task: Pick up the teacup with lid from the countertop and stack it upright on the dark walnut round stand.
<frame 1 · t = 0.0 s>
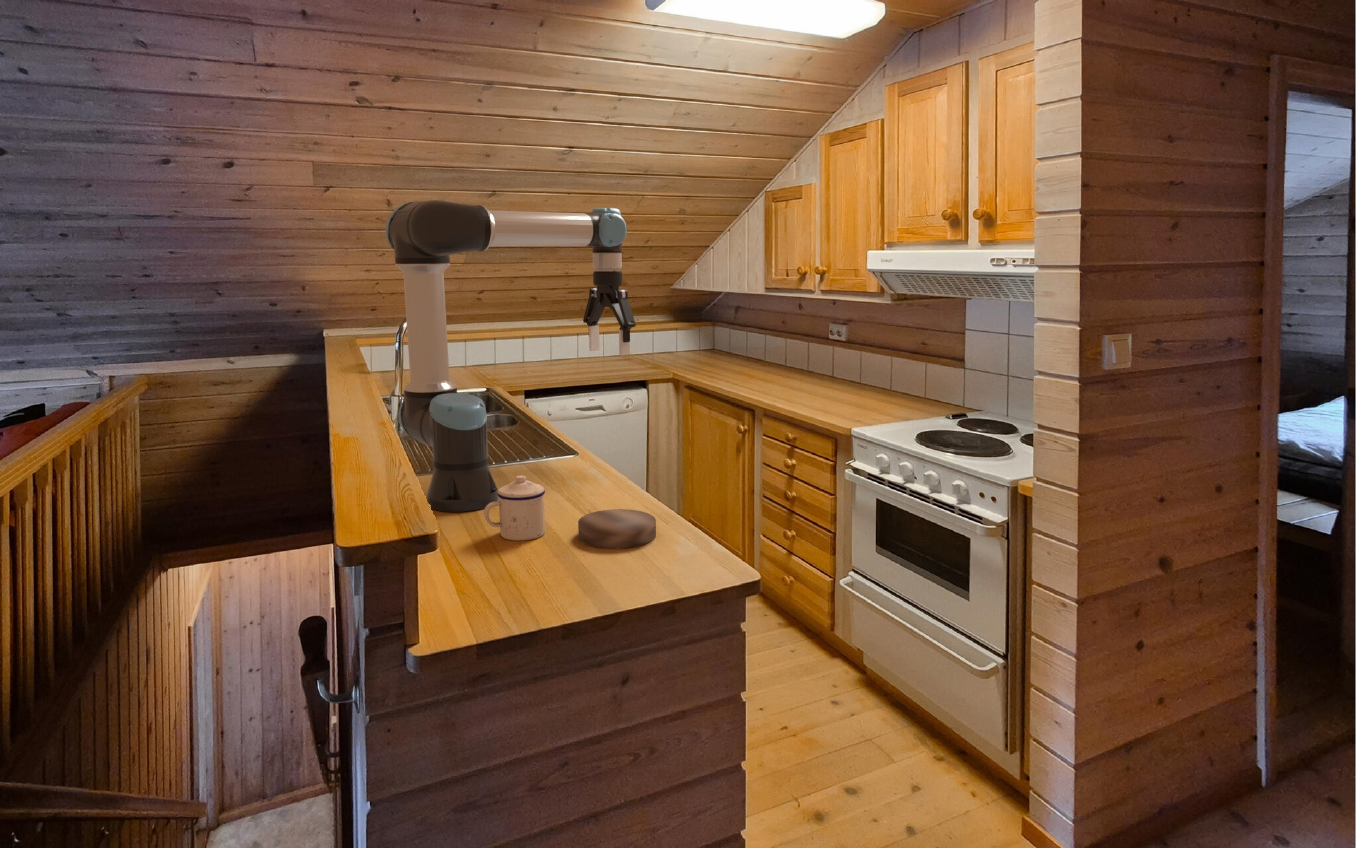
hand: (609, 352, 222), 28 cm above the worktop, fingers open, 13 cm apart
teacup with lid: (515, 536, 166), on the worktop
walnut stand: (617, 535, 165), on the worktop
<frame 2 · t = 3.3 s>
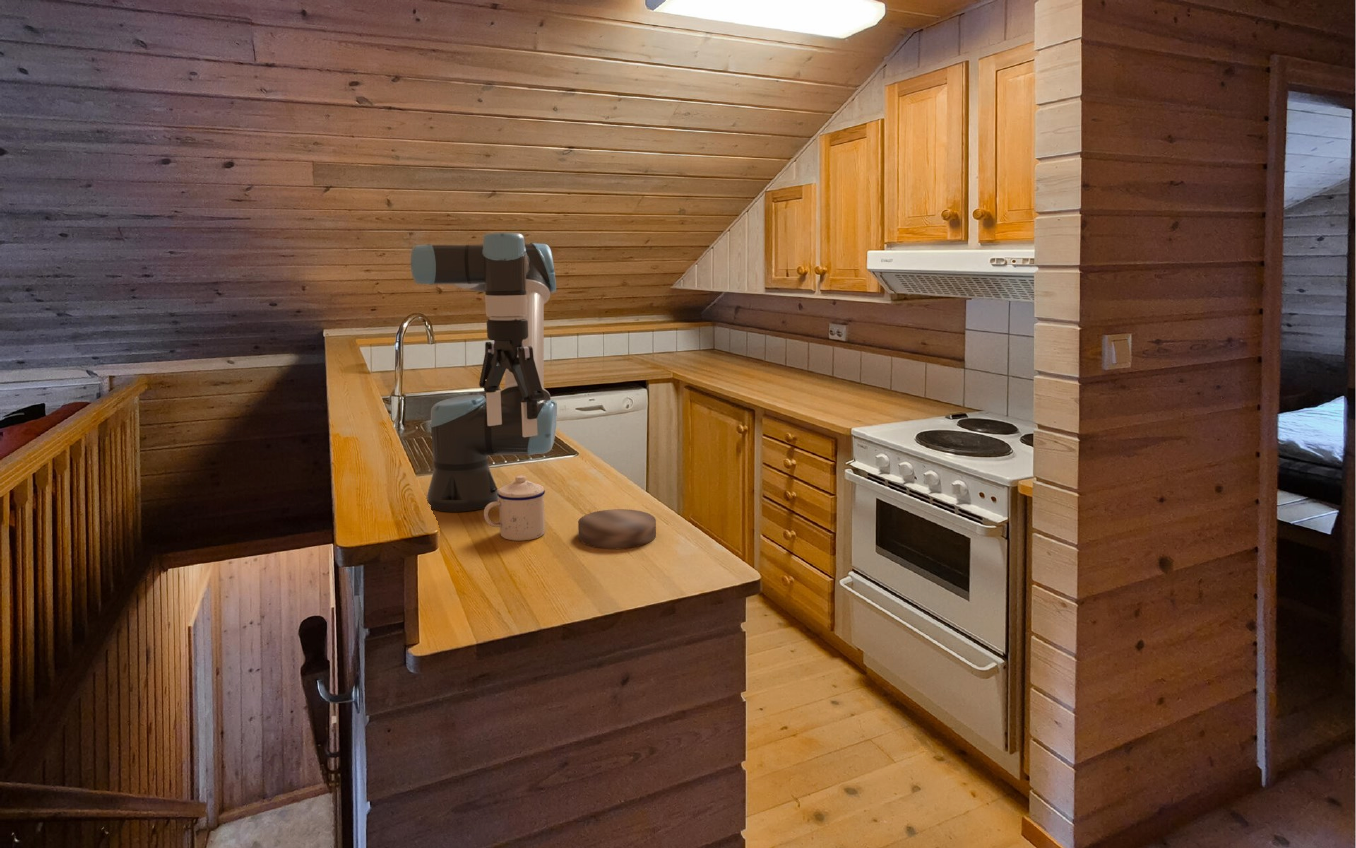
hand: (511, 430, 161), 21 cm above the worktop, fingers open, 13 cm apart
nothing on the worktop moved.
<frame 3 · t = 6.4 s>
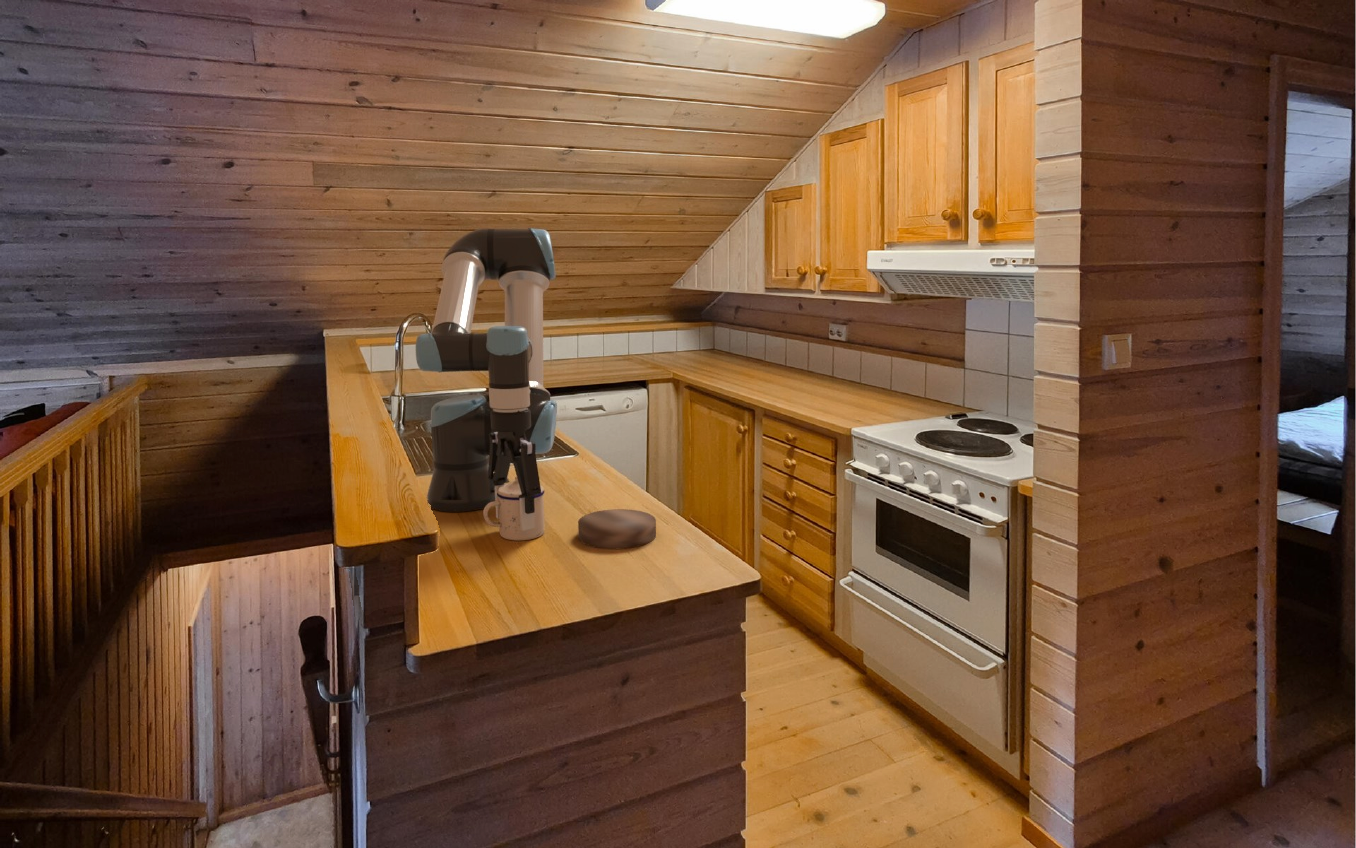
hand: (515, 522, 165), 3 cm above the worktop, fingers closed on teacup with lid, 9 cm apart
teacup with lid: (515, 536, 166), on the worktop, touching gripper
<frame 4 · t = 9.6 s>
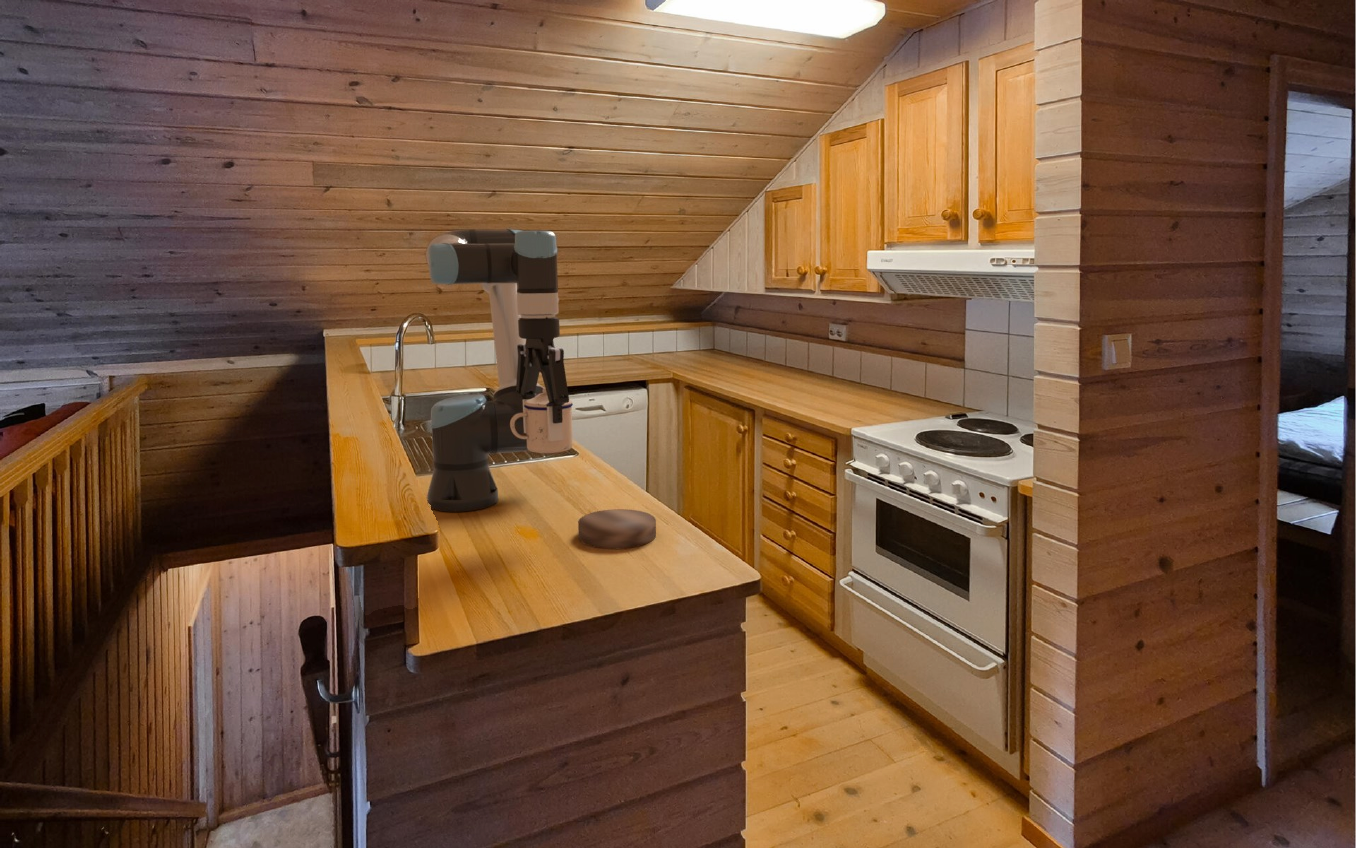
hand: (543, 436, 161), 20 cm above the worktop, fingers closed on teacup with lid, 9 cm apart
teacup with lid: (542, 450, 161), point 17 cm above the worktop, touching gripper
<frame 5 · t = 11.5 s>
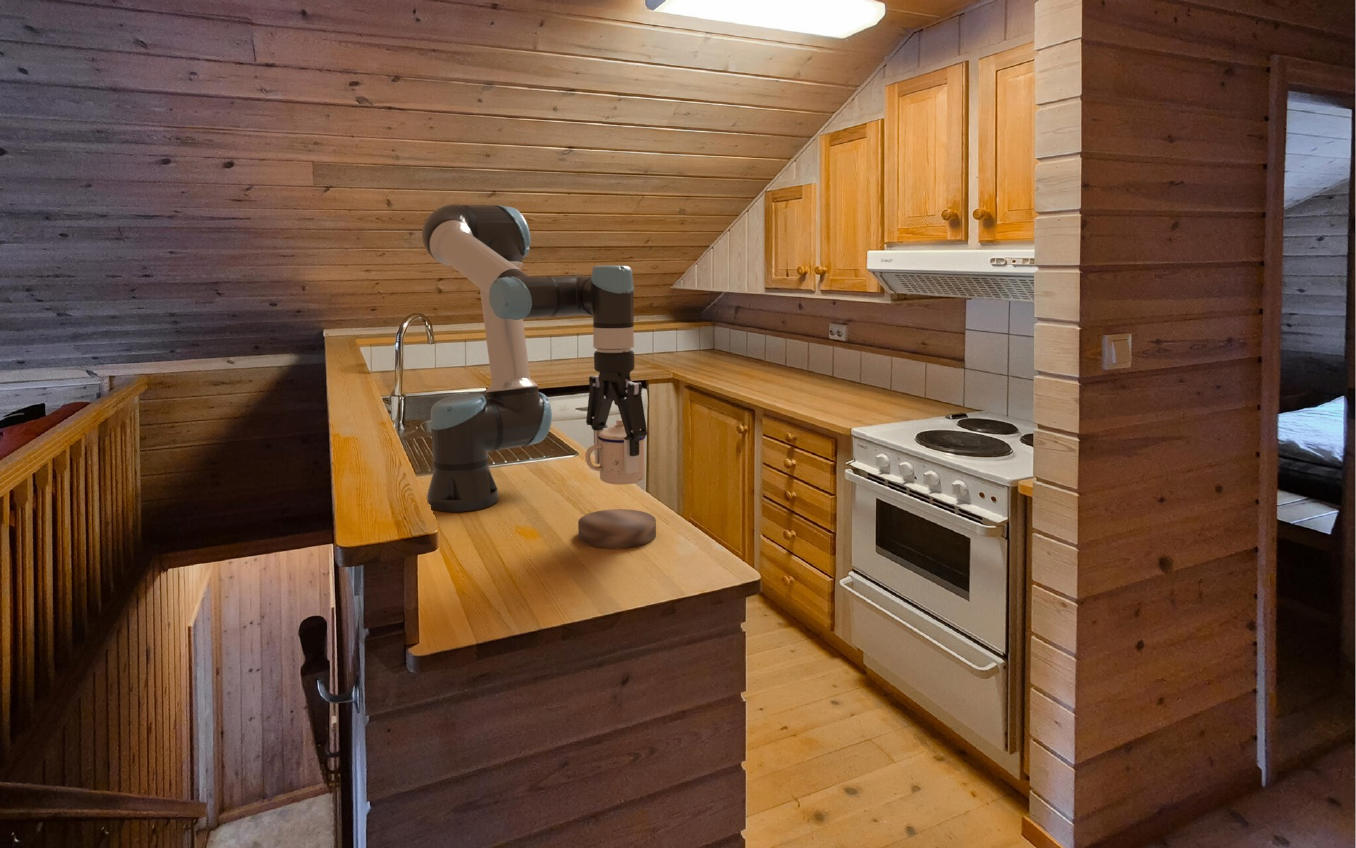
hand: (616, 467, 162), 14 cm above the worktop, fingers closed on teacup with lid, 9 cm apart
teacup with lid: (615, 481, 163), point 11 cm above the worktop, touching gripper
when the fingers open (10 cm above the worktop, at t = 13.1 s): teacup with lid drops 4 cm, resting on walnut stand.
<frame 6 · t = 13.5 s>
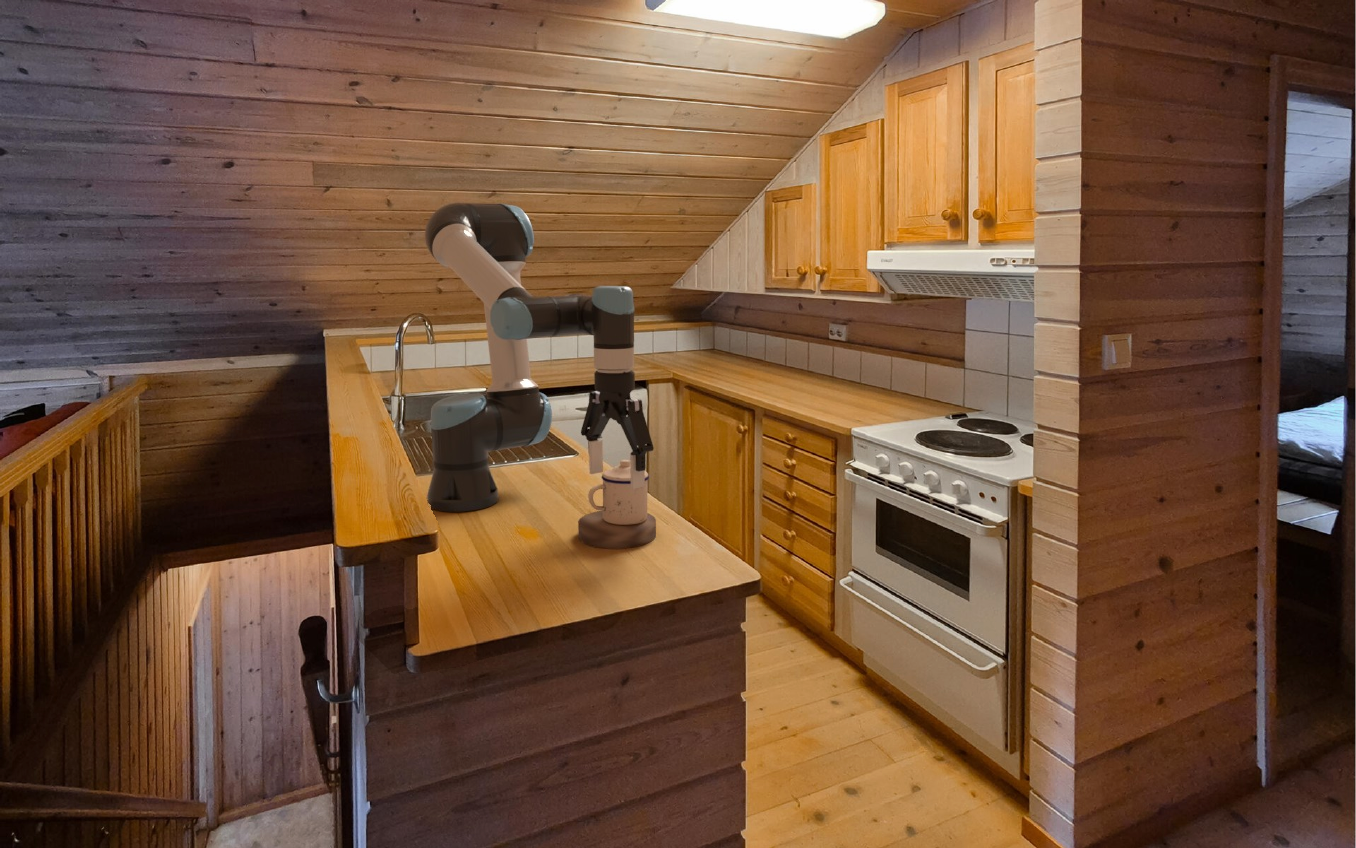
hand: (616, 479, 163), 11 cm above the worktop, fingers open, 13 cm apart
teacup with lid: (618, 520, 165), point 3 cm above the worktop, touching walnut stand
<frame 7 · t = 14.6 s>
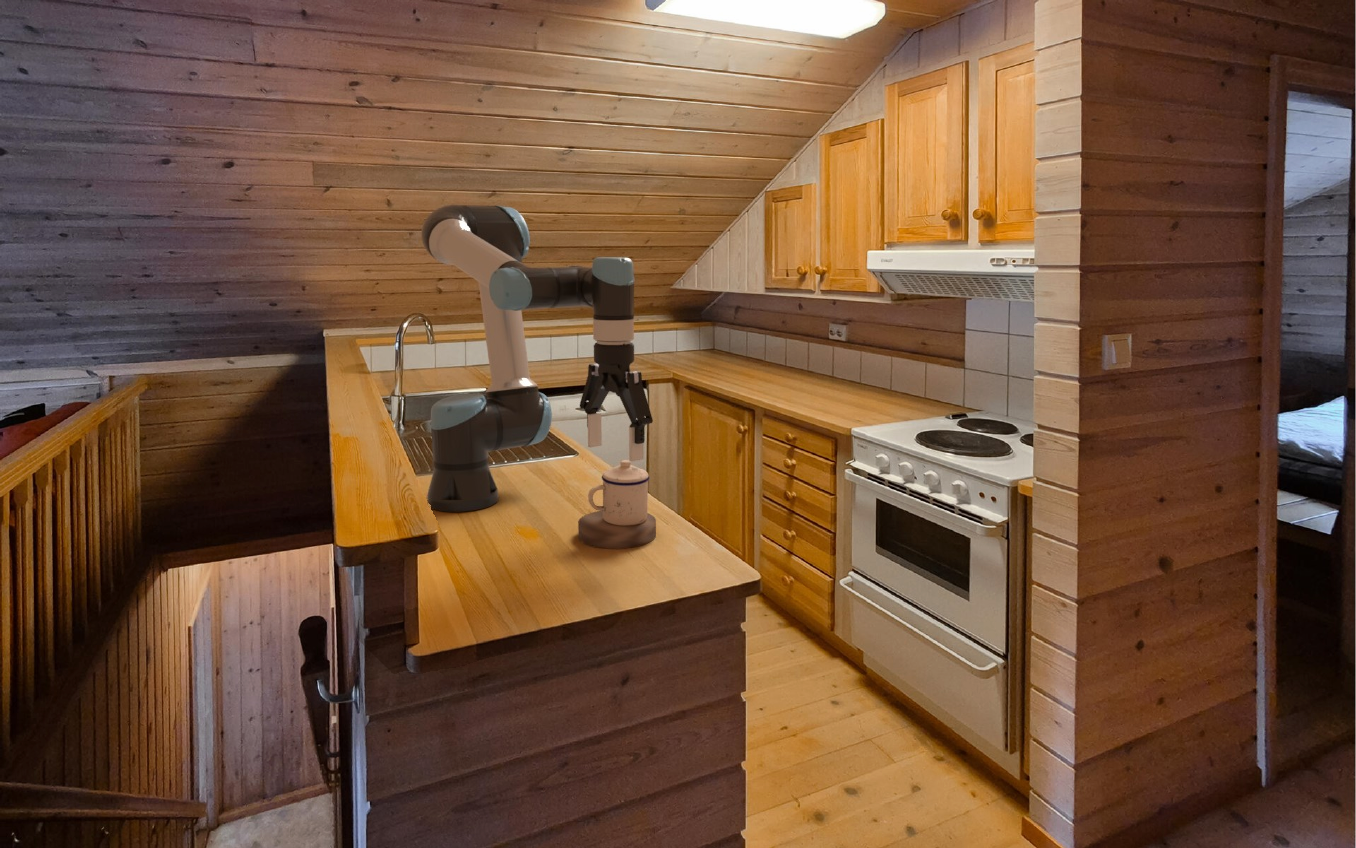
hand: (615, 453, 162), 16 cm above the worktop, fingers open, 13 cm apart
nothing on the worktop moved.
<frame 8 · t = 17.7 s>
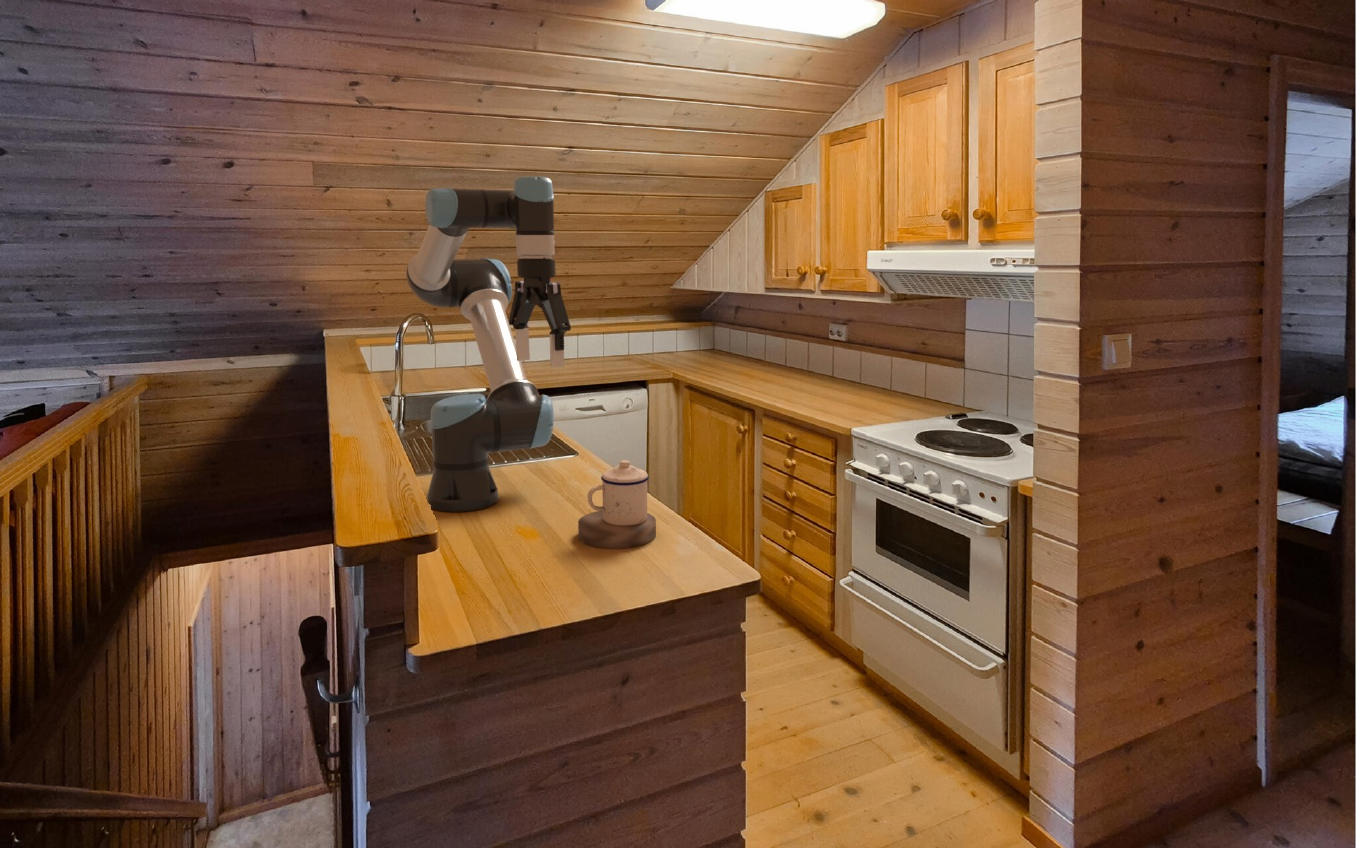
hand: (539, 363, 173), 32 cm above the worktop, fingers open, 13 cm apart
nothing on the worktop moved.
at the end: teacup with lid inside the target area on the walnut stand (0.2 cm from its centre), point 2.9 cm above the walnut stand's base; teacup with lid tilted 1°; the gripper is holding nothing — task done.
